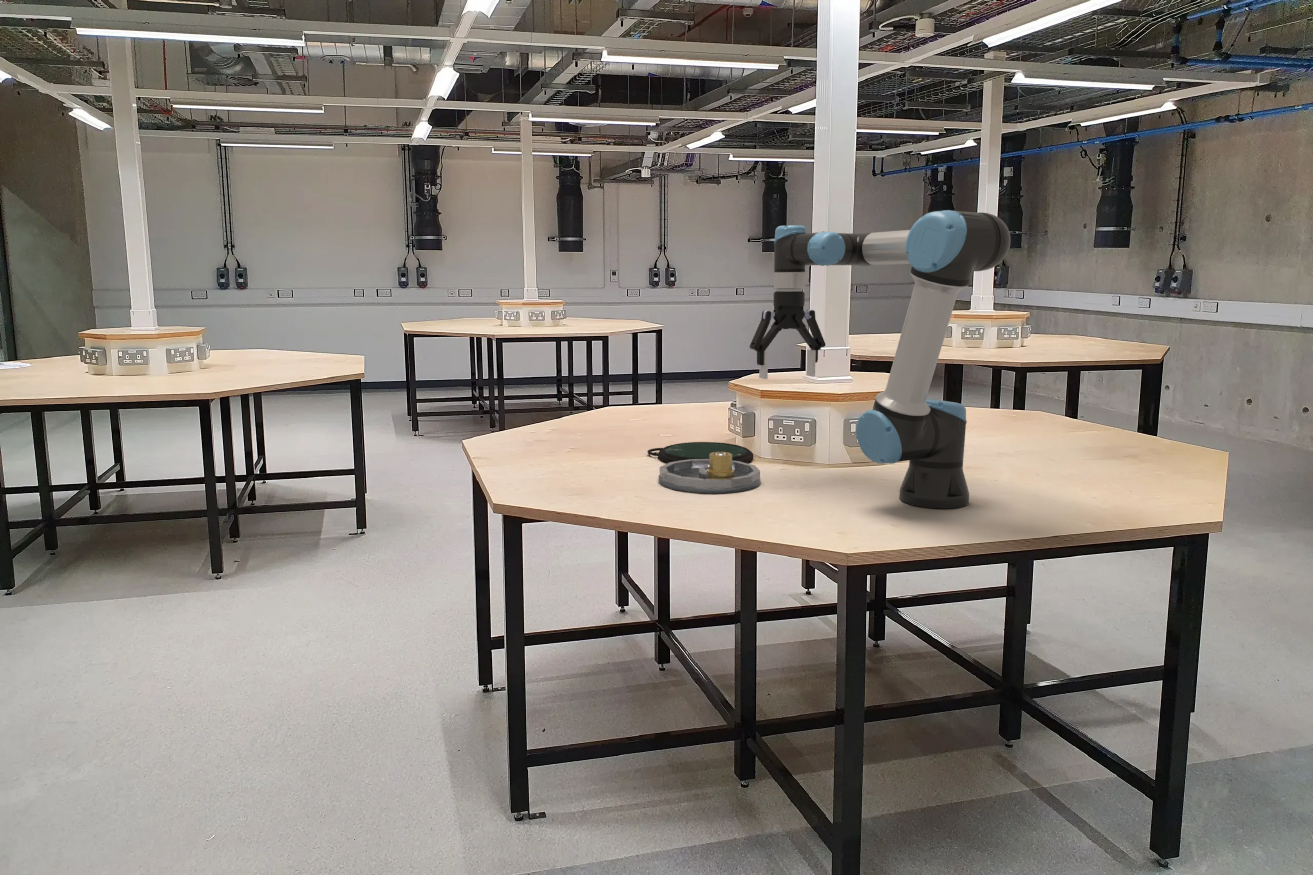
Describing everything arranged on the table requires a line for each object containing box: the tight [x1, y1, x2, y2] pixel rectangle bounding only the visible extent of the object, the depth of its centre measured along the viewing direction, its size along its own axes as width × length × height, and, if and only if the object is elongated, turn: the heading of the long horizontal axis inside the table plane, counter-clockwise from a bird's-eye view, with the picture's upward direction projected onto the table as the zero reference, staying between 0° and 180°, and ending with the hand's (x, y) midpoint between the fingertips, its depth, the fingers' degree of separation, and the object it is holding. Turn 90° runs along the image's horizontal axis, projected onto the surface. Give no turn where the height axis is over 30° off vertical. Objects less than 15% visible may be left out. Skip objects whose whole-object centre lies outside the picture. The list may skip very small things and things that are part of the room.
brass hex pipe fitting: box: [707, 452, 734, 479], centre depth 221 cm, size 6×6×7 cm
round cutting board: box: [647, 441, 754, 464], centre depth 256 cm, size 26×3×30 cm
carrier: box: [658, 453, 761, 495], centre depth 227 cm, size 25×25×8 cm
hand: (787, 377), depth 229 cm, fingers open, 13 cm apart
